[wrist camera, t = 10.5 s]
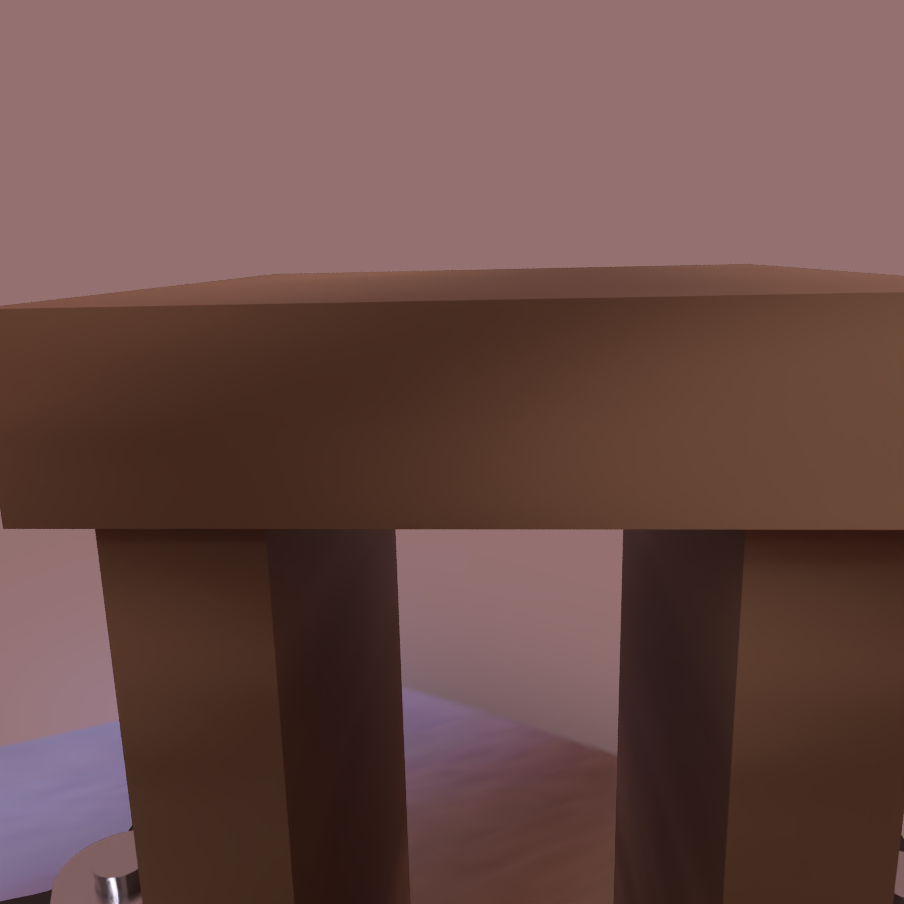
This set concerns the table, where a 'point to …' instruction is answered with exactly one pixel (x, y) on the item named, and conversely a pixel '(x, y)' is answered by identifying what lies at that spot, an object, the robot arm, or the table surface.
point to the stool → (485, 507)
